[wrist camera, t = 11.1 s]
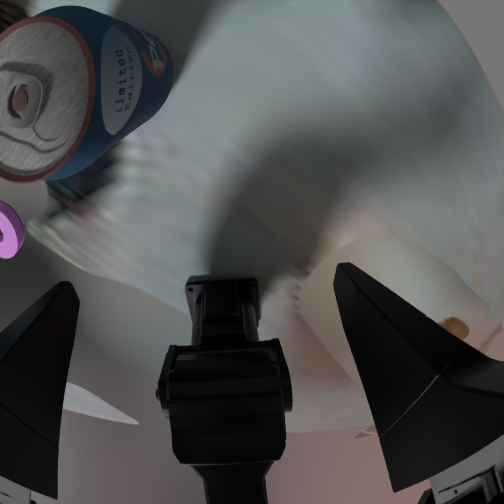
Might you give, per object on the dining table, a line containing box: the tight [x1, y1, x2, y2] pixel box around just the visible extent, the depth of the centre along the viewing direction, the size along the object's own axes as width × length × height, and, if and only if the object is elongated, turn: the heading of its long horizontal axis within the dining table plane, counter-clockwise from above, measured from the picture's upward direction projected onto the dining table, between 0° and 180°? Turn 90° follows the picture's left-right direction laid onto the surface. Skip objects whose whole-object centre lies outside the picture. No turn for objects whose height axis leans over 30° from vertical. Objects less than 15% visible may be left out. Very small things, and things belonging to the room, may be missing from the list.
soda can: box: [0, 6, 173, 184], centre depth 11 cm, size 7×7×12 cm
